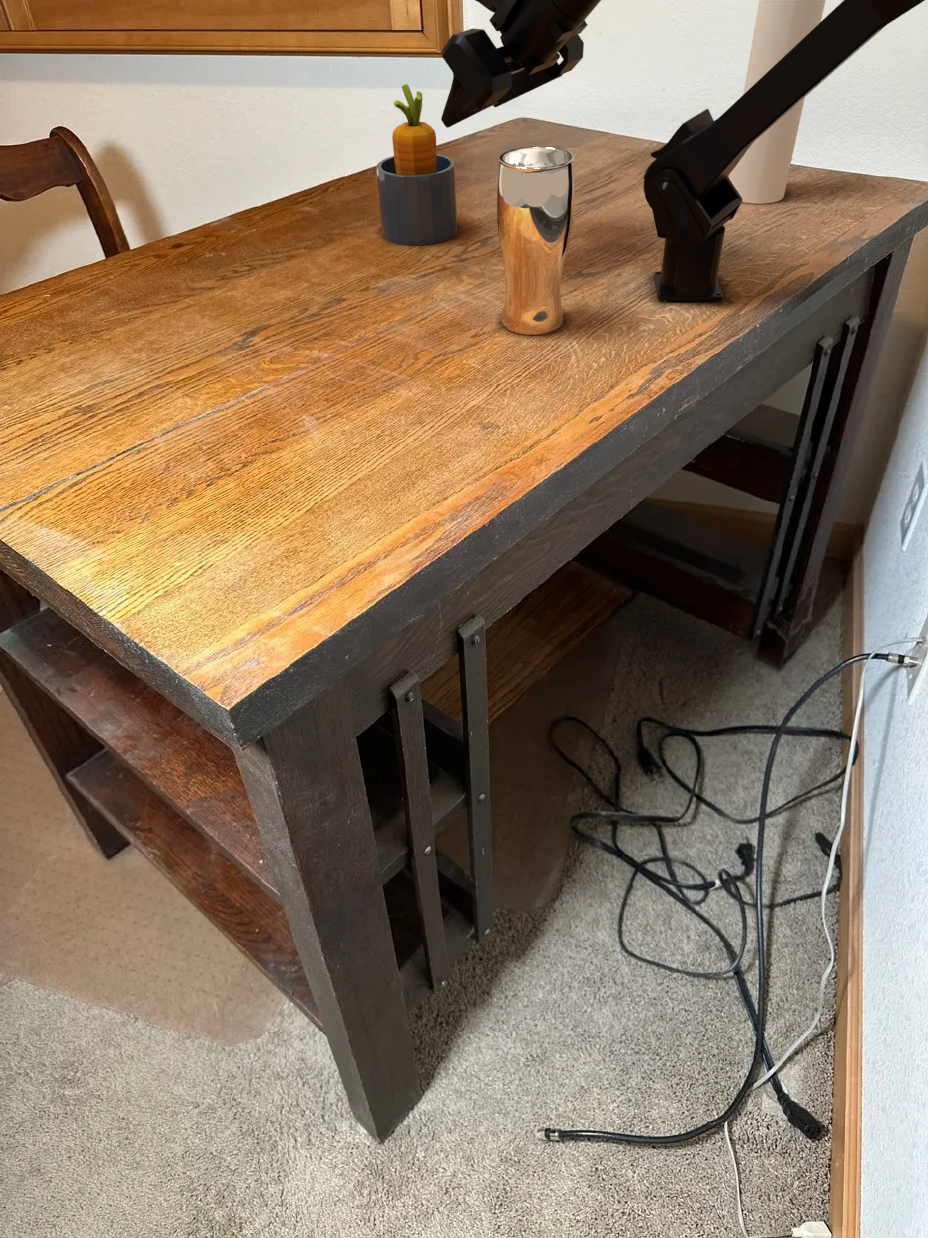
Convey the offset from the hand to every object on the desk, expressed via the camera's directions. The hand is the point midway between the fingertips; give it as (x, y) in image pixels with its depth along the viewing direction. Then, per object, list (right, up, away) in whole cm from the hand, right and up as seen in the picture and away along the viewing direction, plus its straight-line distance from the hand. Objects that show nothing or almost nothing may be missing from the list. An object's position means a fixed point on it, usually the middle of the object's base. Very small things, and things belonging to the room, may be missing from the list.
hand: (469, 112), depth 93 cm
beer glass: (+6, -25, -7) cm, 26 cm away
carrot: (-6, -7, +12) cm, 15 cm away
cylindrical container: (+37, 0, +19) cm, 42 cm away
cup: (-6, -7, +12) cm, 16 cm away
